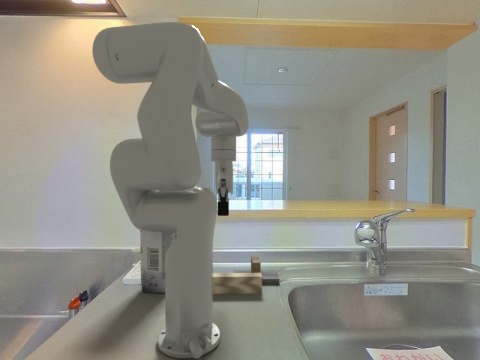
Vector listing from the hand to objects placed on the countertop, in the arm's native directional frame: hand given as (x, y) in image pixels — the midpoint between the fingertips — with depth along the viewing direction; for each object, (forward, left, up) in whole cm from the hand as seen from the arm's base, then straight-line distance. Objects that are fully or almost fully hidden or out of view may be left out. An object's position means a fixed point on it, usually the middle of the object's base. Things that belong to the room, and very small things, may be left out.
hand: (223, 213), depth 90 cm
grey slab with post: (-1, -11, -22) cm, 24 cm away
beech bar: (-6, +1, -22) cm, 23 cm away
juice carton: (+6, +18, -22) cm, 29 cm away
